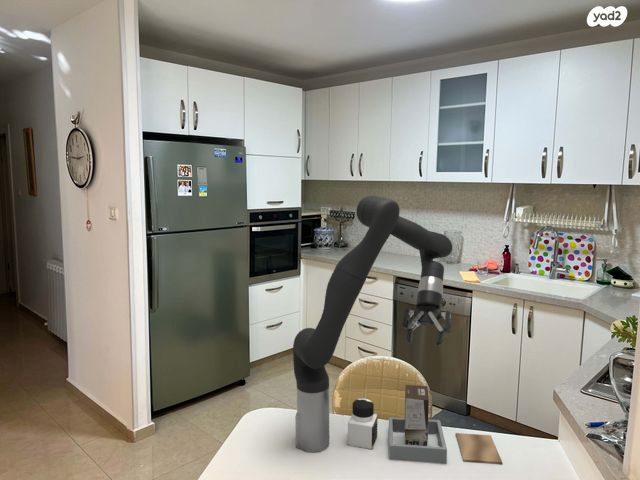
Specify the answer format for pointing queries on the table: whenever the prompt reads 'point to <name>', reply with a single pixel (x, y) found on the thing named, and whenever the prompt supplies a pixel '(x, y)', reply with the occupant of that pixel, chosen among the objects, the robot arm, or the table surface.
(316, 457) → the table surface
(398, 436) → the table surface
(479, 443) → the pad
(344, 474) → the table surface
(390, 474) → the table surface
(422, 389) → the coffee box
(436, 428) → the bin
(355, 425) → the medicine bottle
